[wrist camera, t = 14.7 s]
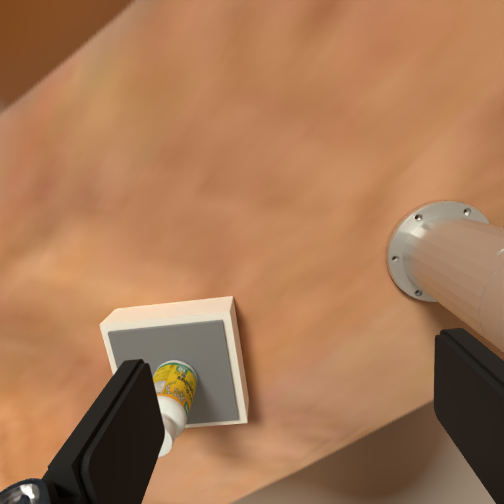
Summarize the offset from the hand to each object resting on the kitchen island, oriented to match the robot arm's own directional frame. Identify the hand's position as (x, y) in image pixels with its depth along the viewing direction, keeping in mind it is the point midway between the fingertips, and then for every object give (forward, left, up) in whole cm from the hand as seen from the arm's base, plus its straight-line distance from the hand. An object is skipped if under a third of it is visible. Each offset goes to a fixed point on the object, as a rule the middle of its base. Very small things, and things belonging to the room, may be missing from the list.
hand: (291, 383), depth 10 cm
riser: (+14, +17, -30) cm, 37 cm away
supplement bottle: (+14, +17, -26) cm, 34 cm away
